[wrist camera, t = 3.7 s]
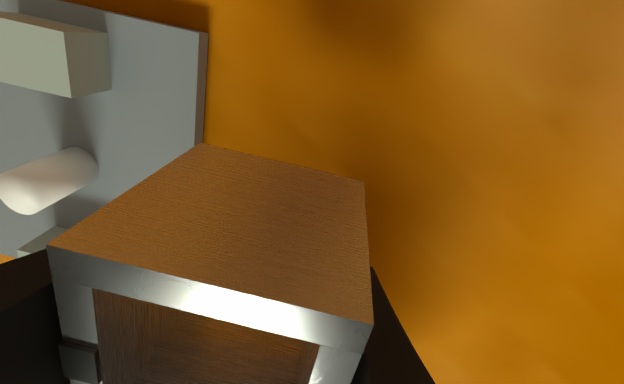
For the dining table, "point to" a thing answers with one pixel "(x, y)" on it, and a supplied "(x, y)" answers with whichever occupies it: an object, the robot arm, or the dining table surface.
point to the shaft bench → (88, 111)
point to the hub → (217, 277)
